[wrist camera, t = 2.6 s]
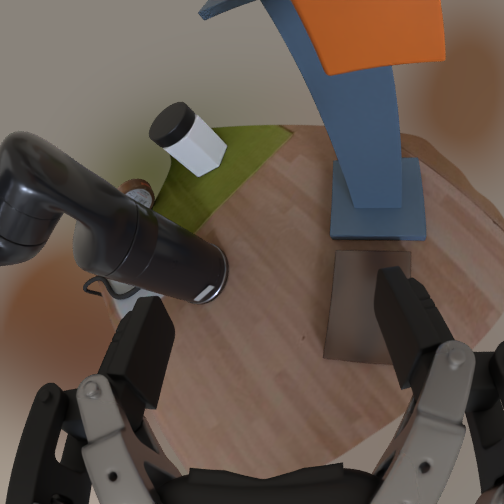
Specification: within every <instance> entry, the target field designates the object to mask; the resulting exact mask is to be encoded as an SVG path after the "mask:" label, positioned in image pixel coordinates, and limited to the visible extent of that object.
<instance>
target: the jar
mask: <svg viewBox="0 0 504 504" xmlns="http://www.w3.org/2000/svg"><path fill="white" fill-rule="evenodd" d="M149 137H150V139H151V140H153V141H154V142H155V143H156V144H158V145H159V146H160V147H162V148H163V149H164V150H166V151H167V152H168V153H169V154H170V155H171V156H173V157H174V158H175V159H176V160H178V161H179V162H180V163H181V164H183V165H184V166H185V167H186V168H188V169H189V170H190V171H191V172H192V173H194V174H195V175H196V176H197V177H200V176H202V175H204V174H206V173H207V172H209V171H211V170H213V169H215V168H217V167H219V165H220V163H221V160H222V158H223V155H224V153H225V151H226V148H227V145H226V144H225V143H224V142H223V141H222V140H221V139H220V138H219V136H218V135H217V134H216V133H215V132H214V131H213V130H212V129H211V128H210V127H209V126H208V125H207V124H206V123H205V122H204V121H203V120H202V119H201V118H200V116H198V115H197V114H195V113H194V112H193V111H192V110H191V109H190V108H189V107H188V106H187V105H186V104H185V103H184V102H177V103H174V104H172V105H170V106H169V107H167V108H166V109H164V110H163V111H162V112H161V113H160V114H159V115H158V116H157V117H156V119H155V120H154V122H153V123H152V125H151V128H150V130H149Z"/></svg>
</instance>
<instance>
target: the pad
mask: <svg viewBox="0 0 504 504" xmlns="http://www.w3.org/2000/svg"><path fill="white" fill-rule="evenodd" d="M394 266H399V267H400V268H401V269H402V271H403V272H404V274H405V276H406V277H407V279H408V278H411V252H409V251H354V250H336V255H335V267H334V277H333V287H332V296H331V305H330V313H329V320H328V328H327V335H326V342H325V348H324V354H323V358H325V359H333V360H342V361H351V362H361V363H372V364H386V365H393V363H392V360H391V357H390V354H389V352H388V349H387V346H386V343H385V340H384V338H383V335H382V332H381V330H380V327H379V324H378V322H377V319H376V316H375V312H374V295H375V288H376V280H377V272H378V270H379V269H382V268H388V267H394Z"/></svg>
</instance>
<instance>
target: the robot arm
mask: <svg viewBox="0 0 504 504" xmlns="http://www.w3.org/2000/svg"><path fill="white" fill-rule="evenodd" d="M63 213H66V214H67V215H69V216H71V217H73V218H74V219H76V220H77V222H76V226H75V231H74V236H73V254H74V258H75V261H76V263H77V265H78V266H79V267H80V268H82V269H83V270H84V271H87V272H89V273H92V274H95V275H98V276H96V277H93V278H91V279H89V280H88V281H87V282H86V283H85V284H84V286H83V290H84V291H85V292H86V293H89V294H94V295H98V296H101V297H102V294H101V292H97V291H93V290H89V289H87V287H88V285H90V284H91V283H93V282H94V281H97V280H101V281H102V282H103V283H104V284H105V286H106V288H107V290H108V292H109V294H110V295H111V296H112V297H113V298H115V299H125V298H128V297H130V296H132V295H133V294H135V293H136V292H137V291H138V290H140V289H145V290H148V291H152V292H155V293H159V294H162V295H166V296H170V297H173V298H177V299H180V300H184V301H187V302H190V303H193V304H206V303H208V302H210V301H212V300H214V299H215V298H216V297H217V296H218V295H219V294H220V293H221V291H222V290H223V288H224V286H225V284H226V281H227V277H228V261H227V258H226V256H225V254H224V252H223V251H222V250H221V249H220V248H219V247H217V246H215V245H213V244H211V243H208V242H207V241H205V240H203V239H202V238H200V237H198V236H197V235H195V234H193V233H191V232H190V231H188V230H186V229H184V228H183V227H181V226H179V225H177V224H176V223H174V222H172V221H170V220H169V219H167V218H165V217H164V216H162V215H160V214H158V213H157V212H155V211H153V210H151V209H149V208H148V207H146V206H144V205H143V204H141V203H139V202H137V201H136V200H134V199H132V198H131V197H129V196H127V195H125V194H124V193H122V192H121V191H119V190H118V189H117V188H115V187H114V186H113V185H111V184H110V183H109V182H107V181H106V180H104V179H103V178H101V177H100V176H98V175H97V174H95V173H93V172H92V171H90V170H88V169H87V168H86V167H84V166H83V165H81V164H80V163H78V162H77V161H75V160H74V159H73V158H71V157H70V156H69V155H67V154H66V153H64V152H63V151H61V150H60V149H58V148H57V147H56V146H54V145H53V144H51V143H50V142H48V141H47V140H45V139H43V138H41V137H39V136H38V135H35V134H32V133H29V132H24V131H18V132H13V133H11V134H9V135H8V136H7V137H6V138H5V139H4V140H3V142H2V143H1V145H0V266H6V265H13V264H18V263H22V262H25V261H28V260H30V259H31V258H33V257H35V256H36V255H37V253H39V252H40V250H41V249H42V248H43V247H44V245H45V244H46V242H47V240H48V239H49V237H50V235H51V233H52V231H53V230H54V228H55V226H56V224H57V223H58V221H59V220H60V218H61V216H62V215H63ZM104 277H105V278H108V279H111V280H114V281H118V282H121V283H125V284H128V285H131V286H135V287H134V288H133V289H132V290H130V291H128V292H127V293H124V294H121V295H118V294H116V293H114V291H113V290H112V288H111V286H110V285H109V283H108V281H107V280H106V279H105V278H104ZM374 312H375V316H376V319H377V322H378V324H379V327H380V330H381V332H382V335H383V338H384V340H385V343H386V346H387V349H388V352H389V354H390V357H391V360H392V363H393V366H394V369H395V372H396V375H397V378H398V382H399V385H400V388H401V390H402V389H405V388H409V387H411V388H412V391H413V396H412V397H411V400H410V402H409V405H408V407H407V409H406V412H405V414H404V416H403V419H402V421H401V423H400V425H399V427H398V429H397V431H396V433H395V436H394V437H393V439H392V441H391V443H390V445H389V446H388V448H387V449H386V451H385V452H384V454H383V456H382V457H381V459H380V461H379V462H378V464H377V466H376V467H375V469H374V471H373V472H372V474H370V473H367V472H364V471H360V470H355V469H347V468H343V463H337V464H330V465H324V466H316V467H308V468H302V469H299V470H296V471H293V472H290V473H286V474H283V475H280V476H276V477H272V478H268V479H258V478H253V477H249V476H245V475H240V474H236V473H233V472H229V471H225V470H208V469H196V468H190V471H189V474H188V475H184V476H182V475H181V473H180V472H179V470H178V469H177V468H176V467H175V466H174V464H173V463H172V462H171V461H170V460H169V459H168V458H167V457H166V455H165V454H164V452H163V450H162V448H161V446H160V444H159V443H158V441H157V439H156V437H155V435H154V433H153V431H152V429H151V428H150V425H149V423H148V421H147V420H146V418H145V416H144V411H145V408H146V409H156V408H157V404H158V400H159V396H160V392H161V388H162V384H163V380H164V376H165V372H166V368H167V364H168V361H169V357H170V353H171V350H172V346H173V342H174V338H175V329H174V325H173V322H172V321H171V319H170V317H169V315H168V313H167V311H166V309H165V307H164V305H163V303H162V301H161V299H160V297H158V296H150V297H140V298H138V299H137V301H136V303H135V306H134V308H133V310H132V311H129V312H128V313H127V314H126V315H125V316H124V318H123V319H122V320H121V321H120V323H119V325H118V328H117V330H116V333H115V334H114V336H113V339H112V342H111V343H110V345H109V348H108V350H107V352H106V355H105V357H104V359H103V362H102V364H101V366H100V369H99V371H98V373H97V374H93V375H90V376H88V377H86V378H85V379H84V380H83V381H82V382H81V384H80V385H79V387H78V388H77V389H72V390H66V391H62V389H61V388H60V387H58V386H57V385H56V384H55V383H47V384H45V385H44V386H42V387H41V388H40V389H39V391H38V392H37V394H36V397H35V399H34V402H33V404H32V407H31V410H30V413H29V416H28V418H27V421H26V424H25V427H24V430H23V433H22V436H21V440H20V443H19V446H18V450H17V453H16V457H15V461H14V464H13V469H12V473H11V477H10V482H9V487H8V492H7V498H6V504H89V498H90V492H91V485H93V488H94V490H95V493H96V495H97V498H98V500H99V503H100V504H437V502H438V500H439V498H440V496H441V494H442V492H443V490H444V488H445V486H446V483H447V481H448V479H449V477H450V474H451V472H452V470H453V467H454V465H455V462H456V459H457V457H458V454H459V451H460V448H461V446H462V443H463V440H464V436H465V432H466V427H465V425H463V424H462V420H463V416H464V413H465V414H466V418H467V422H468V425H469V429H470V433H471V437H472V441H473V445H474V451H475V455H476V461H477V466H478V472H479V479H480V486H481V494H482V495H481V496H480V497H479V498H478V500H477V502H476V503H475V504H504V410H503V408H504V341H503V342H501V343H500V344H499V346H498V347H497V349H496V350H495V352H473V351H472V350H471V348H470V347H469V346H468V345H466V344H465V343H463V342H460V341H455V339H454V338H453V336H452V334H451V332H450V330H449V328H448V327H447V325H446V323H445V321H444V319H443V318H442V316H441V314H440V312H439V311H438V309H437V307H435V304H434V302H433V300H432V299H430V295H429V294H428V292H427V290H426V289H425V287H424V286H423V285H422V284H421V283H419V282H418V281H417V280H416V279H414V278H408V279H407V277H406V276H405V274H404V272H403V271H402V269H401V268H400V267H399V266H394V267H388V268H382V269H379V270H378V272H377V280H376V288H375V295H374ZM500 400H501V401H500ZM501 402H502V404H501ZM502 405H503V407H502ZM61 429H62V430H64V431H65V432H66V433H68V435H67V439H66V443H65V447H64V451H63V455H62V459H61V462H60V463H59V462H58V461H57V460H56V458H55V449H56V445H57V442H58V438H59V435H60V431H61Z"/></svg>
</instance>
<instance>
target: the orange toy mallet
mask: <svg viewBox="0 0 504 504" xmlns="http://www.w3.org/2000/svg"><path fill="white" fill-rule="evenodd" d="M291 2H292V4H293V6H294V8H295V10H296V12H297V13H298V15H299V17H300V19H301V21H302V23H303V25H304V27H305V29H306V32H307V34H308V36H309V38H310V40H311V42H312V44H313V47H314V49H315V51H316V53H317V56H318V58H319V60H320V63H321V65H322V67H323V70H324V72H325V73H326V74H327V75H328V76H333V75H338V74H342V73H347V72H353V71H358V70H364V69H370V68H376V67H383V66H391V65H399V64H409V63H419V62H437V61H444V60H445V59H446V53H445V36H444V25H443V16H442V8H441V2H440V0H291Z"/></svg>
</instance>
